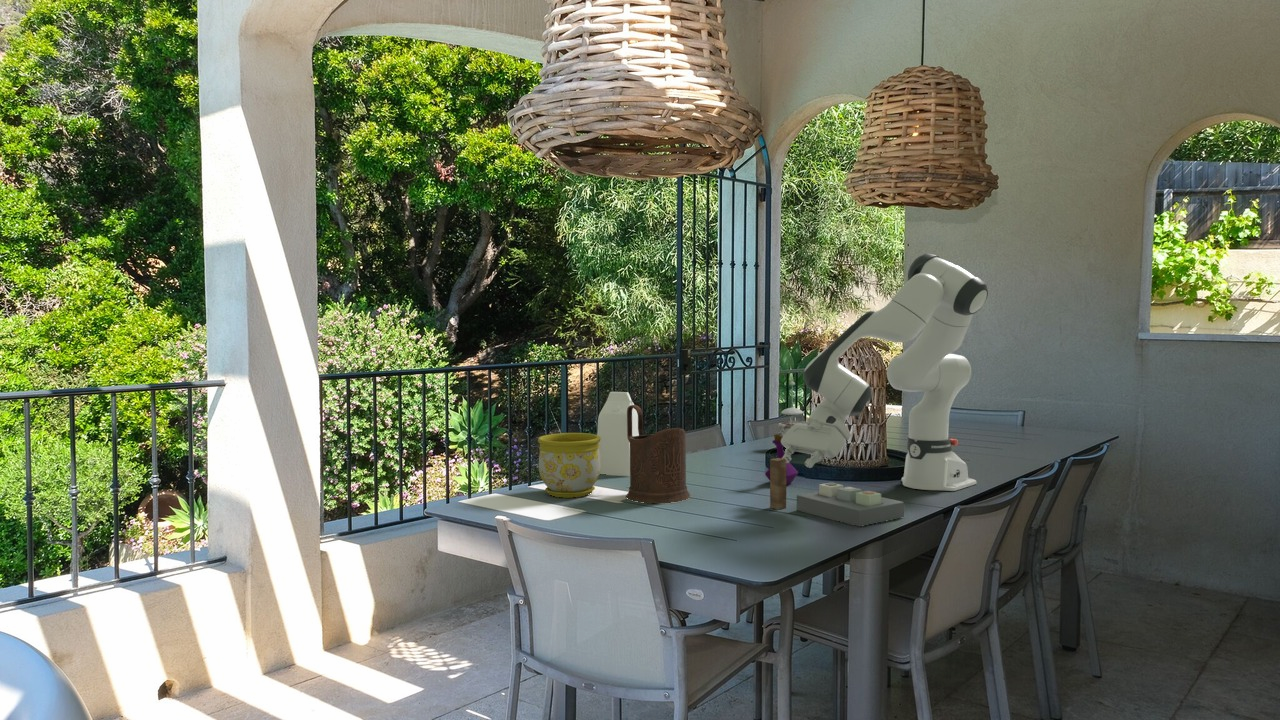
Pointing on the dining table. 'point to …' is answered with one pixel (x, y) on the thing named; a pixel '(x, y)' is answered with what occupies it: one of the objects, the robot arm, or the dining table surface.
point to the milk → (616, 434)
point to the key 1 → (829, 489)
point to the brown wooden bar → (778, 483)
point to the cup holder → (656, 463)
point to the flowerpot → (569, 463)
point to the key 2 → (868, 498)
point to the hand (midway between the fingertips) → (795, 463)
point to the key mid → (847, 493)
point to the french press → (792, 412)
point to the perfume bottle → (790, 470)
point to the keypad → (849, 509)
